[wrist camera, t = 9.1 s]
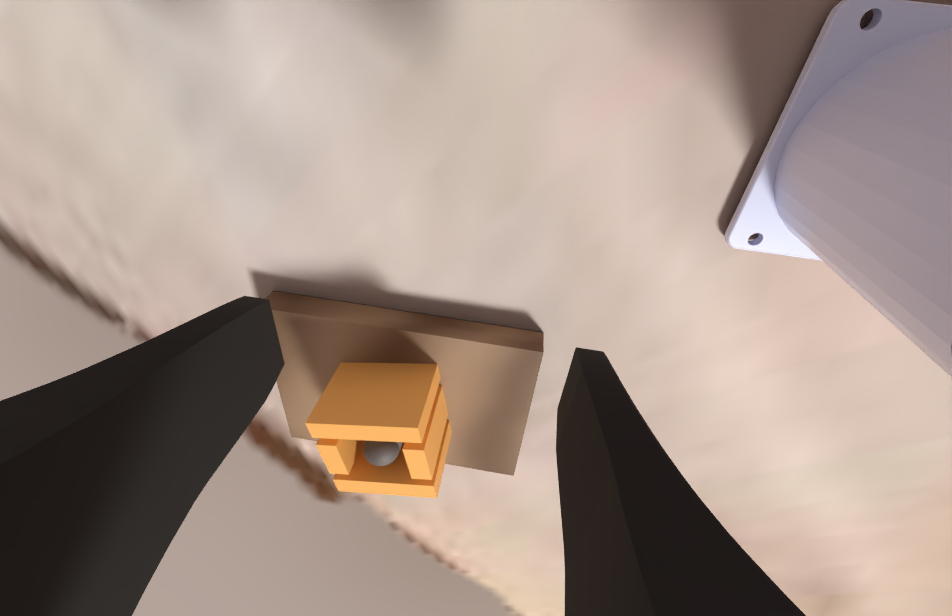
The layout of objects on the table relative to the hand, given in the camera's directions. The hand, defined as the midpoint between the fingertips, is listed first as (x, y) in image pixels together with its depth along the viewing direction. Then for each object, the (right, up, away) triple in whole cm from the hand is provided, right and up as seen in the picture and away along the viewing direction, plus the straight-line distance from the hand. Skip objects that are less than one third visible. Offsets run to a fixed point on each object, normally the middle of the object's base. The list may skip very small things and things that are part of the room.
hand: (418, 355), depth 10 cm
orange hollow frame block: (-3, -4, +13) cm, 14 cm away
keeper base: (-3, -3, +14) cm, 15 cm away
